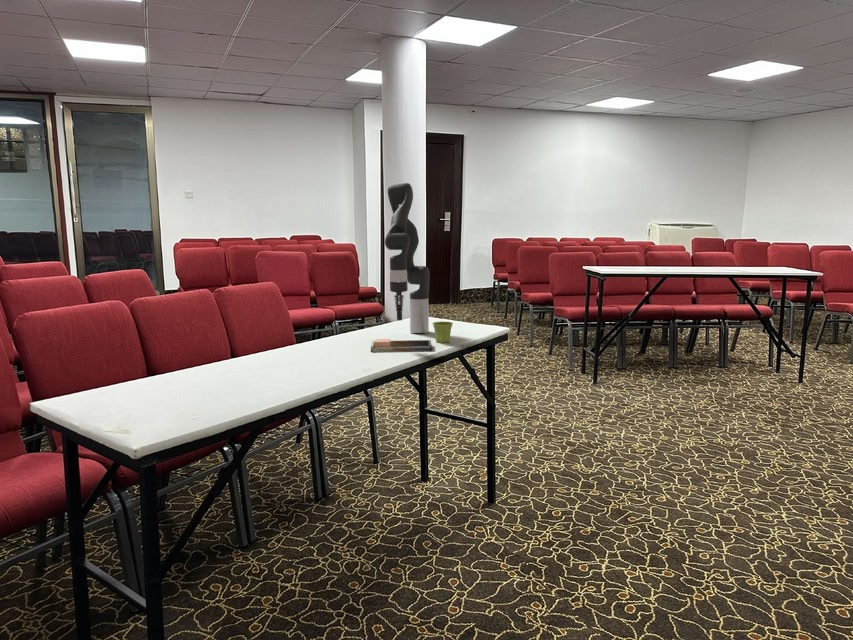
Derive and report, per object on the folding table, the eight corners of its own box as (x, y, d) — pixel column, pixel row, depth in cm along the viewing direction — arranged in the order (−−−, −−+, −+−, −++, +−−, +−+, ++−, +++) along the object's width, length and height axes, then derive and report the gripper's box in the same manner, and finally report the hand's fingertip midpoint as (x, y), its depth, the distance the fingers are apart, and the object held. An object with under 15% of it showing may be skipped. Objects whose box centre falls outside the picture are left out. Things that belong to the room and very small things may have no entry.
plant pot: (453, 343, 264) (453, 324, 263) (432, 343, 264) (432, 324, 263) (452, 339, 274) (452, 321, 272) (432, 339, 274) (432, 321, 272)
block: (376, 348, 258) (375, 339, 257) (390, 347, 257) (390, 338, 257) (374, 351, 251) (374, 342, 251) (389, 351, 251) (389, 341, 250)
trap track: (372, 346, 260) (372, 340, 259) (430, 345, 261) (430, 340, 260) (370, 352, 248) (370, 346, 248) (431, 351, 249) (431, 345, 249)
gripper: (390, 278, 256) (391, 317, 259) (389, 282, 243) (390, 323, 246) (407, 278, 256) (408, 317, 259) (407, 281, 243) (408, 322, 246)
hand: (399, 320), depth 252 cm, fingers closed
